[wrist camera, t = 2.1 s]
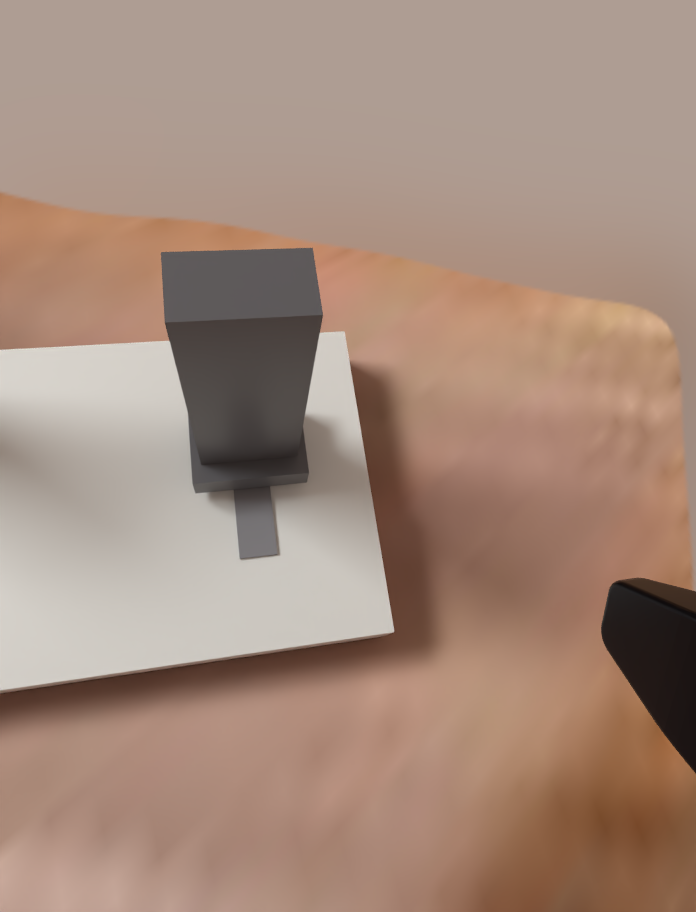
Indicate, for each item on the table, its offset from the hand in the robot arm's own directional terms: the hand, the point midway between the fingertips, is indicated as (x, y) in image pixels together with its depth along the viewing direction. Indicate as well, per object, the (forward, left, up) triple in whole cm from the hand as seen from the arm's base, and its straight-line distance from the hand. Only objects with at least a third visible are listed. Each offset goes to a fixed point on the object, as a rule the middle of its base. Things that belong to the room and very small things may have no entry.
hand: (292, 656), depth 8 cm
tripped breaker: (+7, 0, -11) cm, 13 cm away
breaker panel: (+6, +6, -13) cm, 16 cm away
